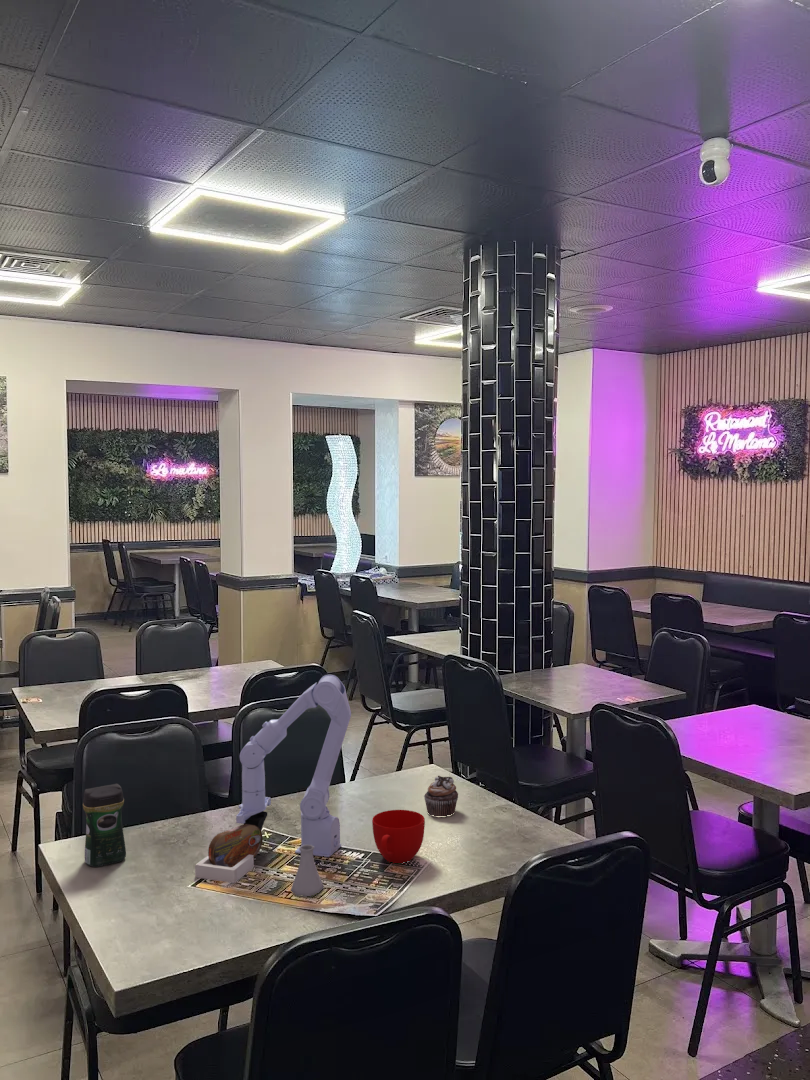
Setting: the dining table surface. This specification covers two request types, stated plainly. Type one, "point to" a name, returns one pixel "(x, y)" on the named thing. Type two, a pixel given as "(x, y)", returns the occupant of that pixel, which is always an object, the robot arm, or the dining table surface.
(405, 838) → the ceramic cup
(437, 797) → the cupcake
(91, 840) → the coffee jar
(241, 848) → the tin
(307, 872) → the flask
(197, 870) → the endcap
